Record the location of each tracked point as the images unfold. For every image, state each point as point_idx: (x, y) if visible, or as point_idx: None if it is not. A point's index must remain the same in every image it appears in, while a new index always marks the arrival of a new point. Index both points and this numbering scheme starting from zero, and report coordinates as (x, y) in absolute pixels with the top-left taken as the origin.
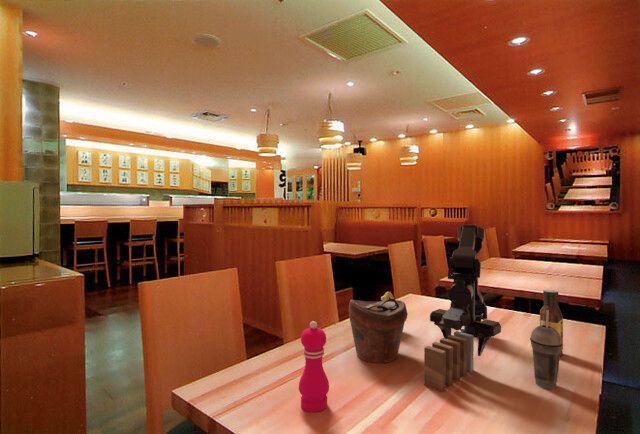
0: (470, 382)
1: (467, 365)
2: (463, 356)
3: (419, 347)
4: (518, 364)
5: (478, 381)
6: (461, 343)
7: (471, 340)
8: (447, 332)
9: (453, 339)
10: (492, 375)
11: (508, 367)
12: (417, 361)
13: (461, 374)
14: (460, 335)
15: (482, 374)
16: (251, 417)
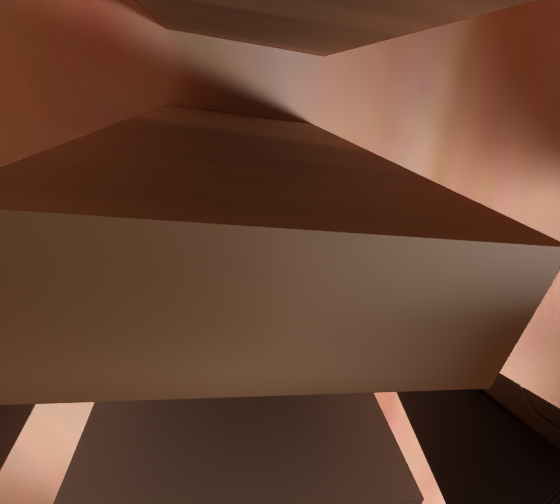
0: (69, 26)
1: None
2: (126, 127)
3: (529, 326)
4: (30, 467)
5: (37, 99)
6: (91, 177)
7: (77, 466)
8: (503, 462)
9: (350, 215)
10: None
11: (42, 414)
12: (531, 133)
13: (186, 108)
14: (285, 486)
15: None
16: None
